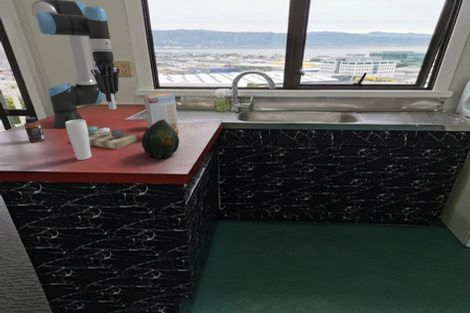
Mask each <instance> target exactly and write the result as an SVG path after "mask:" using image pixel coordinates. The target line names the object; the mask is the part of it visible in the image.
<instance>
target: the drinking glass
mask: <svg viewBox="0 0 470 313" xmlns="http://www.w3.org/2000/svg"><path fill="white" fill-rule="evenodd" d="M82 119H83V118H82ZM82 119H79V120H70V121H67V122H65V125H66V128H65V129H66V132H67V136H68V138H69V141H70V143H71V146H72V149H73V153H74V154H75V158H76V160H78V161H85V160H88V159H90V158H92V151H91V145H90V143H89V135H88V129H87V127H88V125H87V122H86V121H87V120H85V119H83V120H82Z"/></svg>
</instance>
